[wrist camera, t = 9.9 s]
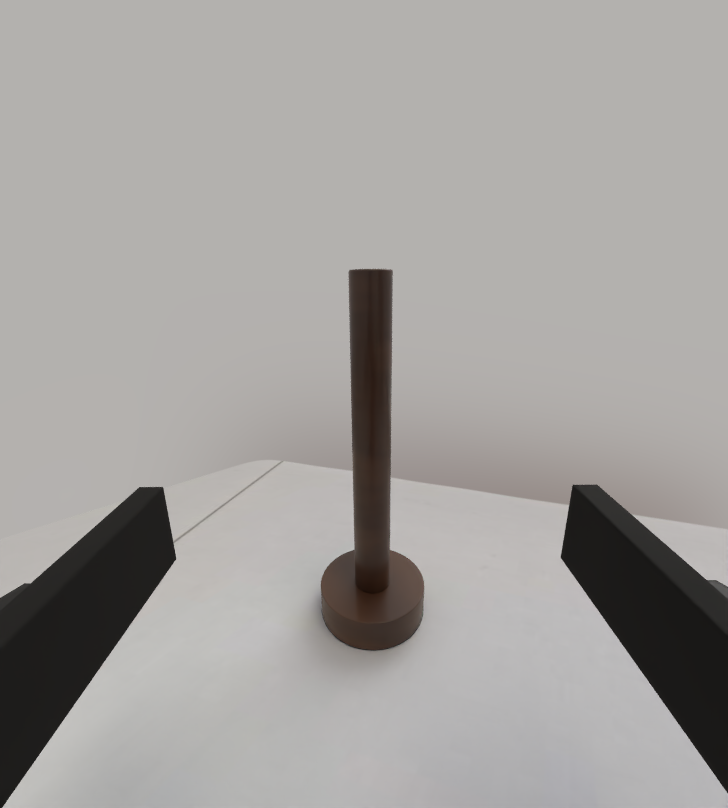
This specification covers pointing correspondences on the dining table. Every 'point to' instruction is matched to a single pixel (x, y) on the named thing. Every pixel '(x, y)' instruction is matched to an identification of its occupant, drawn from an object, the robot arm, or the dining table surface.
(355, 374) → the paper towel holder
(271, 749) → the dining table surface
